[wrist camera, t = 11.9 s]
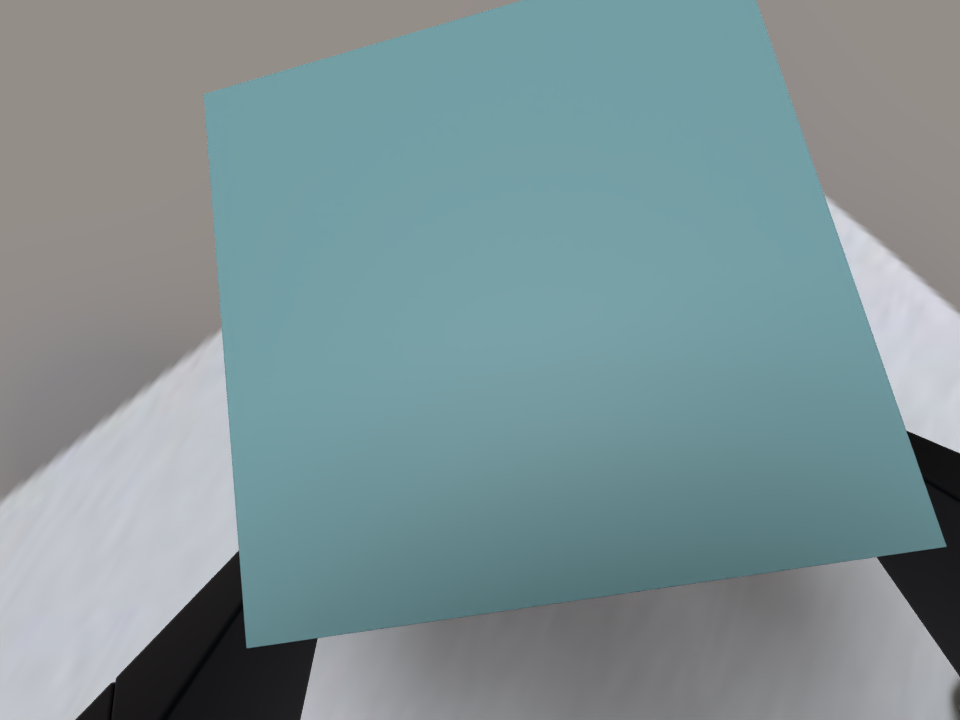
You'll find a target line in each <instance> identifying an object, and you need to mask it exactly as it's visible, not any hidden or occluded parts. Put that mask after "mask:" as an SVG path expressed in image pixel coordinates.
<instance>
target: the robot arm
mask: <svg viewBox="0 0 960 720" xmlns="http://www.w3.org/2000/svg"><path fill="white" fill-rule="evenodd" d="M906 432H907V434H908V437H909V440H910V443H911V446H912V449H913V452H914V454H915V457H916V460H917V463H918V466H919V469H920V472H921V475H922V477H923V480H924V483H925V486H926V489H927V492H928V495H929V497H930V500H931V503H932V506H933V509H934V512H935V515H936V518H937V520H938V523H939V526H940V529H941V532H942V535H943V538H944V540H945V543H946V546H947V547H941V548H934V549H927V550H921V551H914V552H907V553H900V554H893V555H886V556H879V557H877V558H878V560H879V561H880V563H881V564H882V566H883V567H884V568H885V570H886V571H887V573H888V574H889V576H890V577H891V578H892V580H893V581H894V583H895V584H896V586H897V587H898V589H899V590H900V591H901V593H902V594H903V596H904V597H905V599H906V600H907V601H908V603H909V604H910V606H911V607H912V609H913V610H914V612H915V613H916V614H917V616H918V617H919V619H920V620H921V622H922V623H923V624H924V626H925V627H926V629H927V630H928V632H929V633H930V635H931V636H932V637H933V639H934V640H935V642H936V643H937V645H938V646H939V647H940V649H941V650H942V652H943V653H944V655H945V656H946V657H947V659H948V660H949V662H950V663H951V665H952V666H953V668H954V669H955V670H956V672H957V673H958V675H959V676H960V453H958V452H955V451H953V450H951V449H948V448H946V447H943V446H941V445H939V444H936V443H934V442H932V441H929V440H927V439H925V438H922V437H920V436H918V435H915V434H913V433H911V432H908V431H906ZM317 639H318V638H314V639H307V640H301V641H294V642H287V643H280V644H273V645H266V646H259V647H252V648H246V635H245V622H244V609H243V596H242V583H241V570H240V557H239V551H238V552H237V553H236V554H235V555H234V556H233V557H232V558H231V559H230V560H229V561H228V562H227V563H226V564H225V565H224V566H223V568H222V569H221V570H220V571H219V572H218V573H217V574H216V575H215V576H214V577H213V578H212V579H211V580H210V581H209V582H208V583H207V584H206V585H205V586H204V587H203V588H202V589H201V590H200V591H199V592H198V593H197V595H196V596H195V597H194V598H193V599H192V600H191V601H190V602H189V603H188V604H187V605H186V606H185V607H184V608H183V609H182V610H181V611H180V612H179V613H178V614H177V615H176V616H175V617H174V618H173V619H172V620H171V621H170V623H169V624H168V625H167V626H166V627H165V628H164V629H163V630H162V631H161V632H160V633H159V634H158V635H157V636H156V637H155V638H154V639H153V640H152V641H151V642H150V643H149V644H148V645H147V646H146V647H145V648H144V650H143V651H142V652H141V653H140V654H139V655H138V656H137V657H136V658H135V659H134V660H133V661H132V662H131V663H130V664H129V665H128V666H127V667H126V668H125V669H124V670H123V671H122V672H121V673H120V674H119V675H118V676H117V678H116V681H115V682H113V683H111V684H110V685H109V686H108V687H107V688H106V689H105V690H104V691H103V692H102V693H101V694H100V695H99V696H98V697H97V698H96V699H95V700H94V701H93V702H92V703H91V704H90V705H89V706H88V707H87V708H86V709H85V710H84V711H83V712H82V713H81V714H80V715H79V716H78V718H77V719H76V720H300V719H301V714H302V709H303V705H304V700H305V695H306V691H307V686H308V681H309V676H310V672H311V667H312V662H313V657H314V653H315V648H316V643H317Z"/></svg>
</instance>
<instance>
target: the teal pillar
mask: <svg viewBox="0 0 960 720" xmlns="http://www.w3.org/2000/svg"><path fill="white" fill-rule="evenodd" d="M204 103H205V115H206V128H207V142H208V153H209V167H210V180H211V194H212V206H213V219H214V233H215V245H216V258H217V271H218V284H219V296H220V310H221V323H222V336H223V349H224V362H225V375H226V388H227V401H228V414H229V427H230V440H231V453H232V466H233V479H234V492H235V505H236V518H237V531H238V544H239V557H240V570H241V583H242V596H243V609H244V622H245V635H246V648H252V647H259V646H266V645H273V644H280V643H287V642H294V641H301V640H307V639H314V638H321V637H328V636H335V635H342V634H349V633H356V632H363V631H369V630H376V629H383V628H390V627H397V626H404V625H411V624H418V623H425V622H431V621H438V620H445V619H452V618H459V617H466V616H473V615H480V614H487V613H493V612H500V611H507V610H514V609H521V608H528V607H535V606H542V605H549V604H555V603H562V602H569V601H576V600H583V599H590V598H597V597H604V596H611V595H617V594H624V593H631V592H638V591H645V590H652V589H659V588H666V587H673V586H679V585H686V584H693V583H700V582H707V581H714V580H721V579H728V578H735V577H741V576H748V575H755V574H762V573H769V572H776V571H783V570H790V569H797V568H803V567H810V566H817V565H824V564H831V563H838V562H845V561H852V560H859V559H865V558H872V557H879V556H886V555H893V554H900V553H907V552H914V551H921V550H927V549H934V548H941V547H947V546H946V543H945V540H944V538H943V535H942V532H941V529H940V526H939V523H938V520H937V518H936V515H935V512H934V509H933V506H932V503H931V500H930V497H929V495H928V492H927V489H926V486H925V483H924V480H923V477H922V475H921V472H920V469H919V466H918V463H917V460H916V457H915V454H914V452H913V449H912V446H911V443H910V440H909V437H908V434H907V432H906V429H905V426H904V423H903V420H902V417H901V414H900V411H899V409H898V406H897V403H896V400H895V397H894V394H893V391H892V389H891V386H890V383H889V380H888V377H887V374H886V371H885V368H884V366H883V363H882V360H881V357H880V354H879V351H878V348H877V346H876V343H875V340H874V337H873V334H872V331H871V328H870V325H869V323H868V320H867V317H866V314H865V311H864V308H863V305H862V302H861V300H860V297H859V294H858V291H857V288H856V285H855V282H854V280H853V277H852V274H851V271H850V268H849V265H848V262H847V259H846V257H845V254H844V251H843V248H842V245H841V242H840V239H839V237H838V234H837V231H836V228H835V225H834V222H833V219H832V216H831V214H830V211H829V208H828V205H827V202H826V199H825V196H824V194H823V191H822V188H821V185H820V182H819V179H818V177H817V173H816V171H815V168H814V165H813V162H812V159H811V156H810V153H809V151H808V148H807V145H806V142H805V139H804V136H803V134H802V130H801V128H800V125H799V122H798V119H797V116H796V113H795V111H794V108H793V105H792V102H791V99H790V96H789V93H788V90H787V88H786V85H785V82H784V79H783V76H782V73H781V70H780V67H779V65H778V62H777V59H776V56H775V53H774V50H773V47H772V44H771V42H770V39H769V36H768V33H767V30H766V27H765V25H764V22H763V19H762V16H761V13H760V10H759V7H758V4H757V2H756V0H523V1H519V2H516V3H512V4H509V5H505V6H502V7H499V8H495V9H492V10H488V11H485V12H482V13H478V14H475V15H471V16H469V17H465V18H461V19H458V20H455V21H451V22H448V23H445V24H441V25H438V26H434V27H431V28H427V29H424V30H420V31H417V32H414V33H411V34H407V35H403V36H400V37H397V38H393V39H390V40H387V41H383V42H380V43H376V44H373V45H370V46H366V47H363V48H359V49H356V50H353V51H349V52H346V53H342V54H339V55H336V56H332V57H329V58H325V59H322V60H318V61H315V62H312V63H308V64H305V65H301V66H298V67H295V68H291V69H288V70H284V71H281V72H278V73H274V74H271V75H268V76H264V77H261V78H257V79H254V80H251V81H247V82H244V83H240V84H237V85H234V86H230V87H227V88H223V89H220V90H217V91H213V92H210V93H206V94H204Z"/></svg>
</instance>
